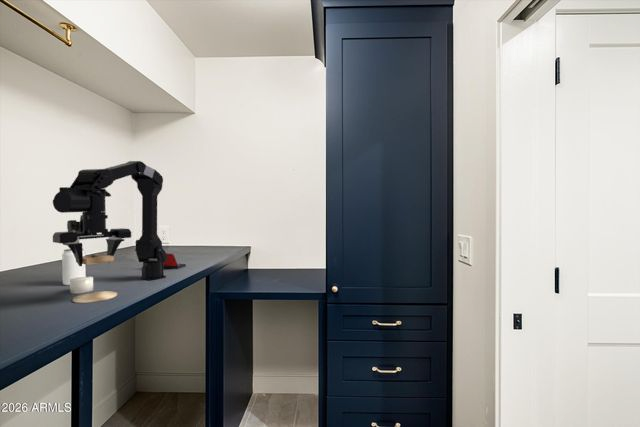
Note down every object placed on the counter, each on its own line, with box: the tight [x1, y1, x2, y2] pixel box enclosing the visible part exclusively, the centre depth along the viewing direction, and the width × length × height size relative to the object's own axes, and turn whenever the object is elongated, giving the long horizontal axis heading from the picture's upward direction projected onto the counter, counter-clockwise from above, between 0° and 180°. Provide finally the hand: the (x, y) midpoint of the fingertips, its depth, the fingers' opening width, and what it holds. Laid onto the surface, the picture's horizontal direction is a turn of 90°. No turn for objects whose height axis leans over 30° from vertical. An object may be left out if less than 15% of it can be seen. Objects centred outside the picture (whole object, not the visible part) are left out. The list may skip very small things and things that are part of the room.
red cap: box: [163, 253, 187, 270], centre depth 144 cm, size 12×11×7 cm
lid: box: [76, 253, 115, 266], centre depth 98 cm, size 7×7×2 cm
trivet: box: [72, 290, 118, 304], centre depth 98 cm, size 11×11×1 cm
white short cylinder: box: [69, 276, 94, 295], centre depth 105 cm, size 6×6×4 cm
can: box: [61, 248, 87, 286], centre depth 116 cm, size 6×6×12 cm
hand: (95, 264), depth 98 cm, fingers closed on lid, 7 cm apart
